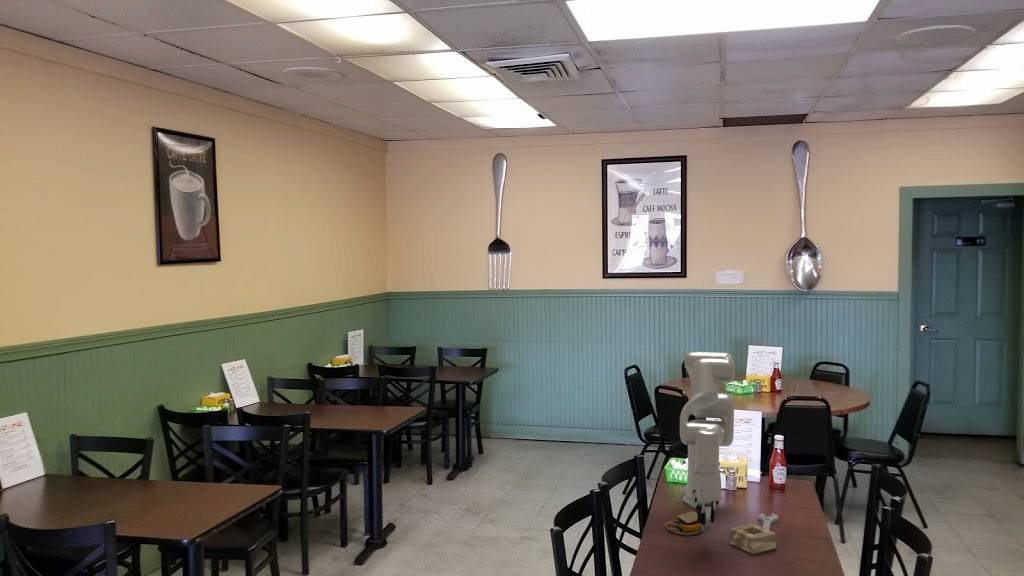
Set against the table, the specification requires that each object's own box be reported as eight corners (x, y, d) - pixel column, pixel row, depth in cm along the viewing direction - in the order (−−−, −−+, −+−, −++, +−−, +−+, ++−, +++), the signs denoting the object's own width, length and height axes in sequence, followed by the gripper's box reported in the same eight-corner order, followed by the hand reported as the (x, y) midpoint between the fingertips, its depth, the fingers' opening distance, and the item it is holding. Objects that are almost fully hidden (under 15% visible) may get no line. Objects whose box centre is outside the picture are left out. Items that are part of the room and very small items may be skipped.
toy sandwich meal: (659, 525, 268) (659, 511, 267) (694, 521, 271) (694, 508, 271) (675, 538, 256) (675, 524, 255) (711, 534, 259) (711, 521, 259)
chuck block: (730, 543, 251) (730, 528, 250) (752, 537, 255) (752, 523, 255) (753, 554, 242) (753, 538, 242) (775, 548, 247) (775, 533, 246)
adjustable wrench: (767, 543, 252) (767, 538, 252) (747, 539, 255) (748, 534, 255) (778, 519, 274) (778, 514, 274) (760, 516, 277) (760, 511, 277)
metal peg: (698, 529, 249) (698, 501, 248) (705, 527, 251) (706, 499, 250) (705, 532, 246) (705, 504, 245) (713, 530, 248) (713, 502, 247)
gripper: (717, 460, 254) (716, 514, 255) (679, 468, 246) (678, 523, 248) (733, 466, 247) (732, 521, 249) (695, 474, 240) (694, 531, 241)
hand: (705, 521), depth 248 cm, fingers closed on metal peg, 3 cm apart
